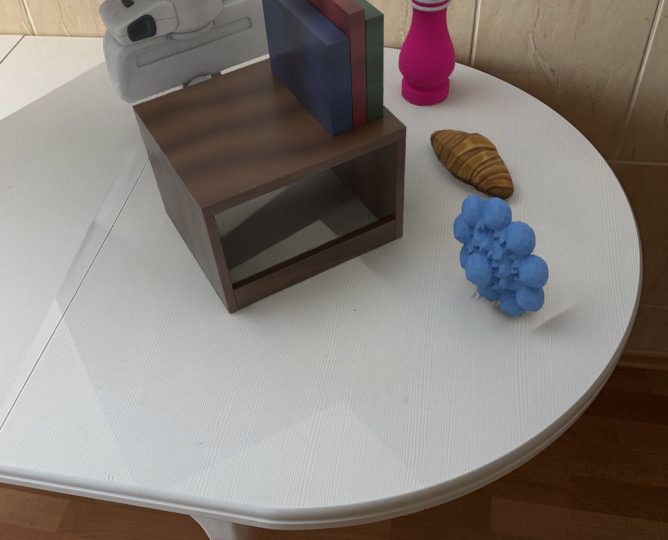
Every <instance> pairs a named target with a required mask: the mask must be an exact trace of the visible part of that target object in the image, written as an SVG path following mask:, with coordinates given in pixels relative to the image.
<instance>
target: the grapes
mask: <svg viewBox="0 0 668 540" xmlns="http://www.w3.org/2000/svg"><path fill="white" fill-rule="evenodd" d="M452 225H453V227H452V228H453V230H452V231H453V232H452V233H453V237H454V239H455V240H456V241H458V242H459V243H460V244H462V246H461V248H460V251H459V263H460V268H462V269H464V273H465V278H466V280H467V281H469V283H471V284H473V285H475V286H476V288H477V293H478V295H479V296H481V297H482V298H483V299H485V300H488V301H490V302H497V301H498V305H499V309H500V310H501V311H502V312H503V313H505V314H507V315H508V316H509V315H510V316H512V317H519V316H521V315H523V314H524V313H525V312H528V313H529V312H530V313H537V312H538V311H540V310H541V309H542V308H543V306H544V304H545V291H544V286H546V285H547V282H548V280H549V278H550V277H549V275H550V273H549V272H550V271H549V270H550V269H549V266H548V263H547V262H546V260H545V259H543V258H542V257H541V256H539V255H537V254H534V250H535V248H536V244H537V240H536V239H537V236H536V234H535V230H534V229H533V228H532V227H531V225H529V224H528V223H526V222H523V221H522V220H516V221H515V220H513V211H512V208H511V205H509V203H507V202H506V201H505V200H502V199H500V198H497V197H489V198H488V199H485V198H484V197H482V196H479V195H477V194H469V195H467V196H466V197H465V198H464V199H463V201H462V204H461V213H459V214H458V215H457V216H456V217H455V219H454V221H453V223H452Z"/></svg>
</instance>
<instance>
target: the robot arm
mask: <svg viewBox="0 0 668 540" xmlns="http://www.w3.org/2000/svg"><path fill="white" fill-rule="evenodd" d="M98 12H99V13H98V14H99V16H100V18H101V21H102V23H103V25H104V26H105V29H106V30H105V32H104V34H103V37H102V49H103V55H104V60H105V65H106V69H107V72H108V73H107V74H108V77H109V80H110V83H111V86H112V88H113V89H114V91H115V93H116V94H117V97H119V98H120V99H121V100H122V101H124V102H125V103H128V104H133V103H137V102H139V101H142V100H144V99H148V98H151V97H153V96H155V95H158V94H161V93H165V92H167V91H170V90H172V89H173V90H174V89H175V88H179V87H180V89H182V88H185V87H186V86H187V85H188V84H189V82H190V81H191V80H193V79H194V78H196V77H199V76H207V77H210V78H213V77H216V76H219V75H222V74H223V73H222V72H223V71H226V70H228V69H230V68H234V67H236V66H238V65H242V64H244V63H247V62H250V61H252V60H255V59H258V58H261V57H264V56H267V55H269V50H268V42H267V35H266V27H265V20H264V12H263V5H262V0H104V1H103V2H102V3H100V5H99V7H98Z"/></svg>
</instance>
